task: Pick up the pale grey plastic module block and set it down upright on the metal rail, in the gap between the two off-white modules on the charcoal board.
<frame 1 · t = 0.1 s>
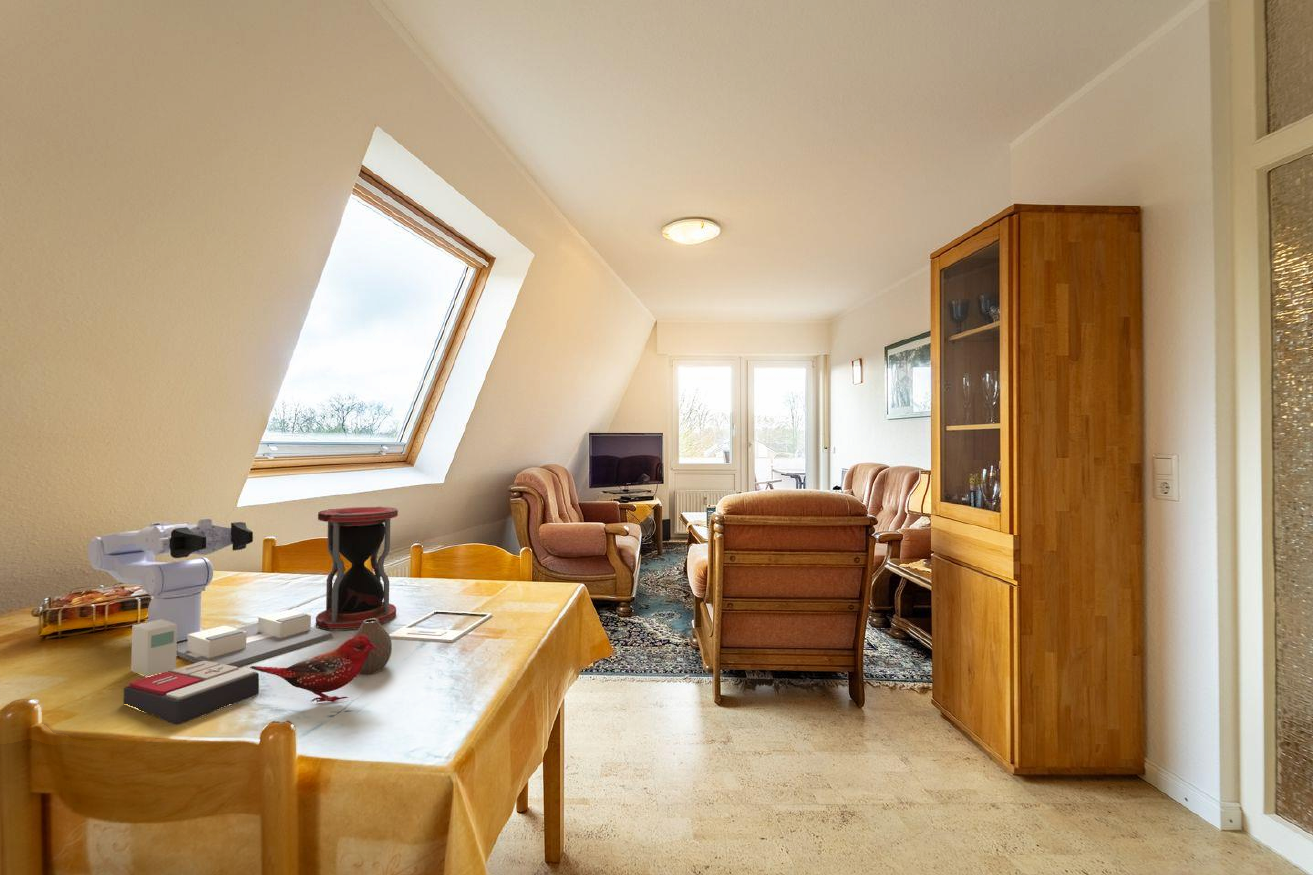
hand: (228, 539, 104), 22 cm above the table, tool horizontal, fingers open, 7 cm apart
vase: (369, 671, 96), on the table
module block: (153, 670, 96), on the table
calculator: (192, 702, 85), on the table
photo frame: (442, 628, 120), on the table
decorative bird figurine: (313, 704, 84), on the table
rail board: (252, 644, 109), on the table
hourglass: (357, 620, 125), on the table
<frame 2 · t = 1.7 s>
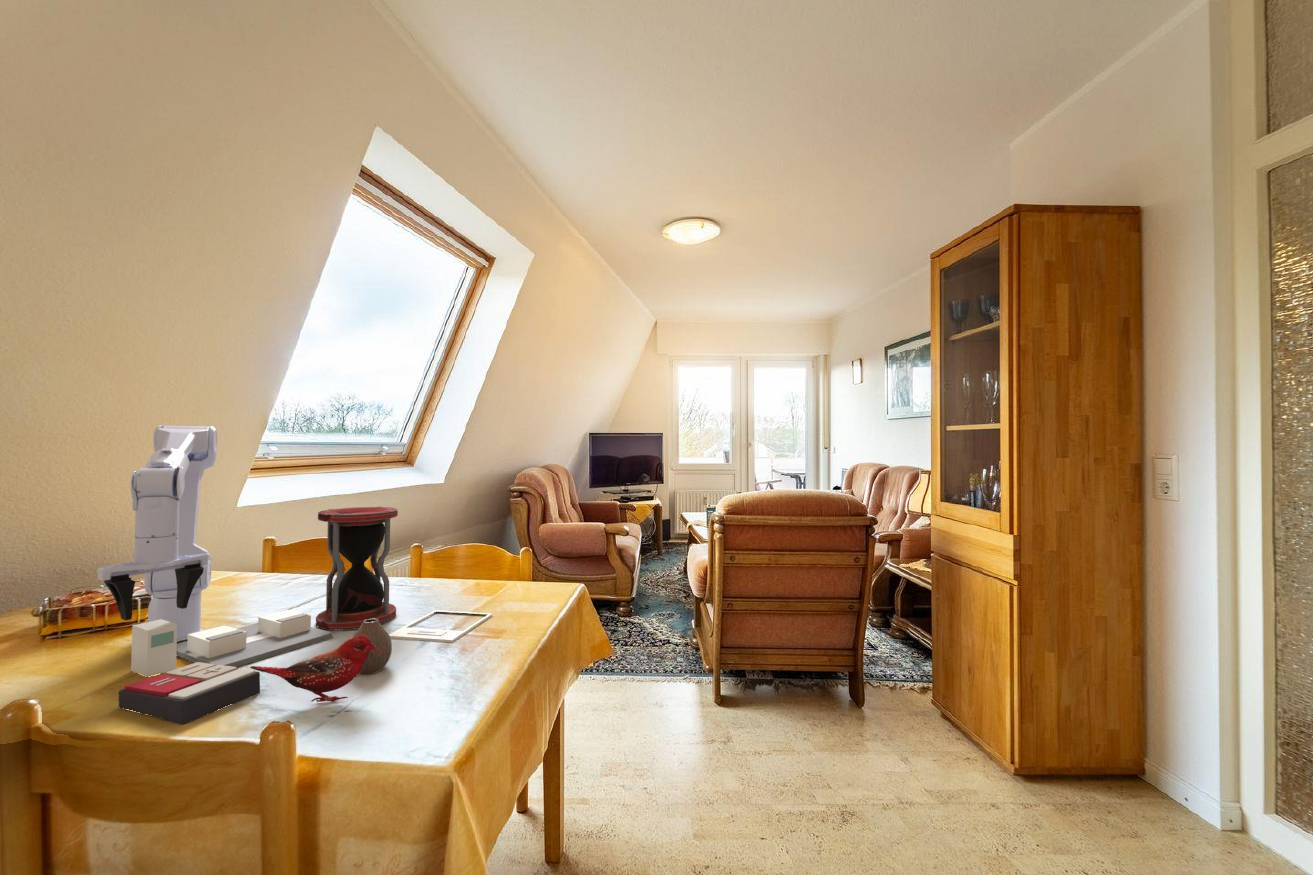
hand: (155, 613, 96), 10 cm above the table, tool pointing down, fingers open, 7 cm apart
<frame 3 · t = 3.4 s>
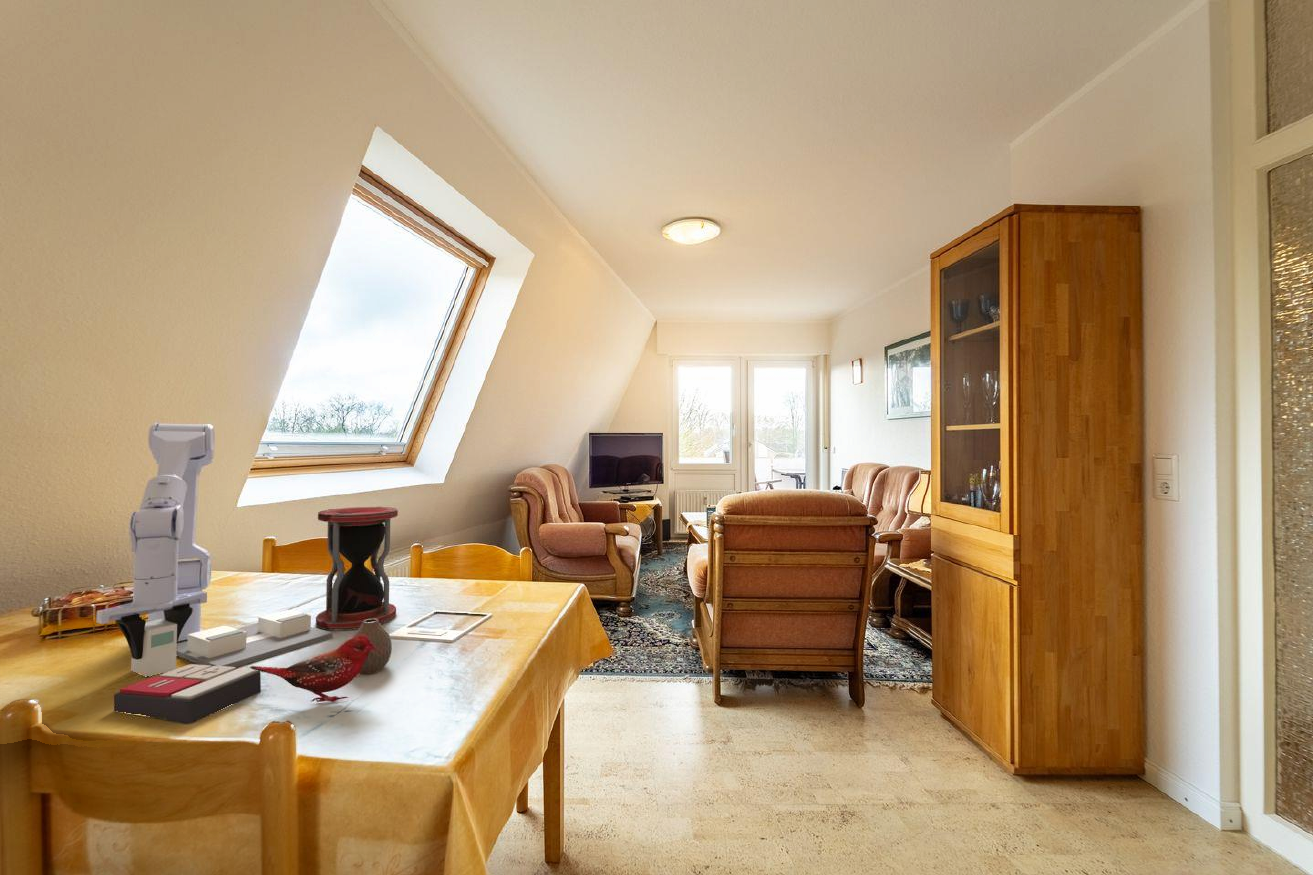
hand: (154, 653, 96), 3 cm above the table, tool pointing down, fingers closed on module block, 4 cm apart
module block: (153, 670, 96), on the table, touching gripper
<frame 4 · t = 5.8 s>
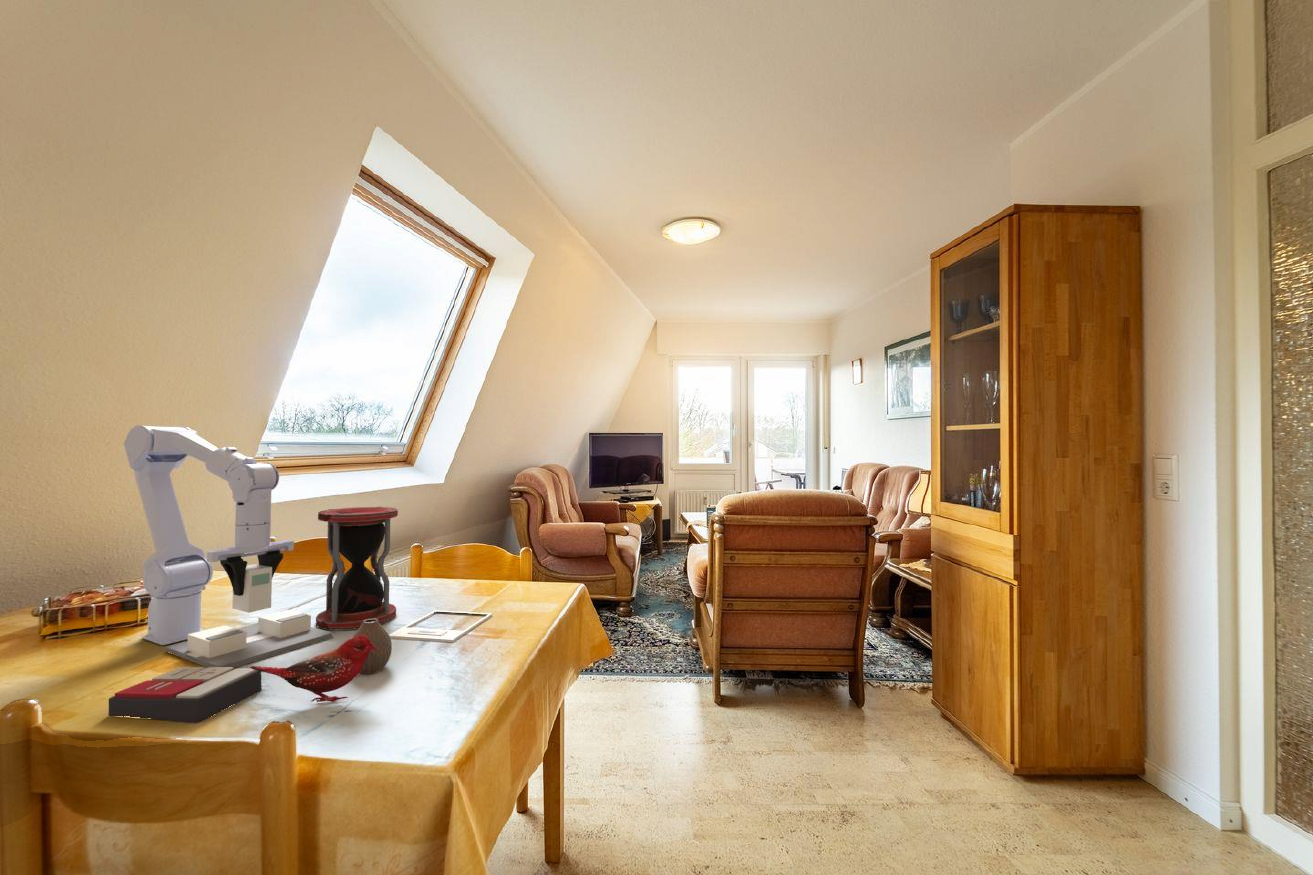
hand: (251, 592, 108), 10 cm above the table, tool pointing down, fingers closed on module block, 4 cm apart
module block: (251, 607, 108), point 7 cm above the table, touching gripper
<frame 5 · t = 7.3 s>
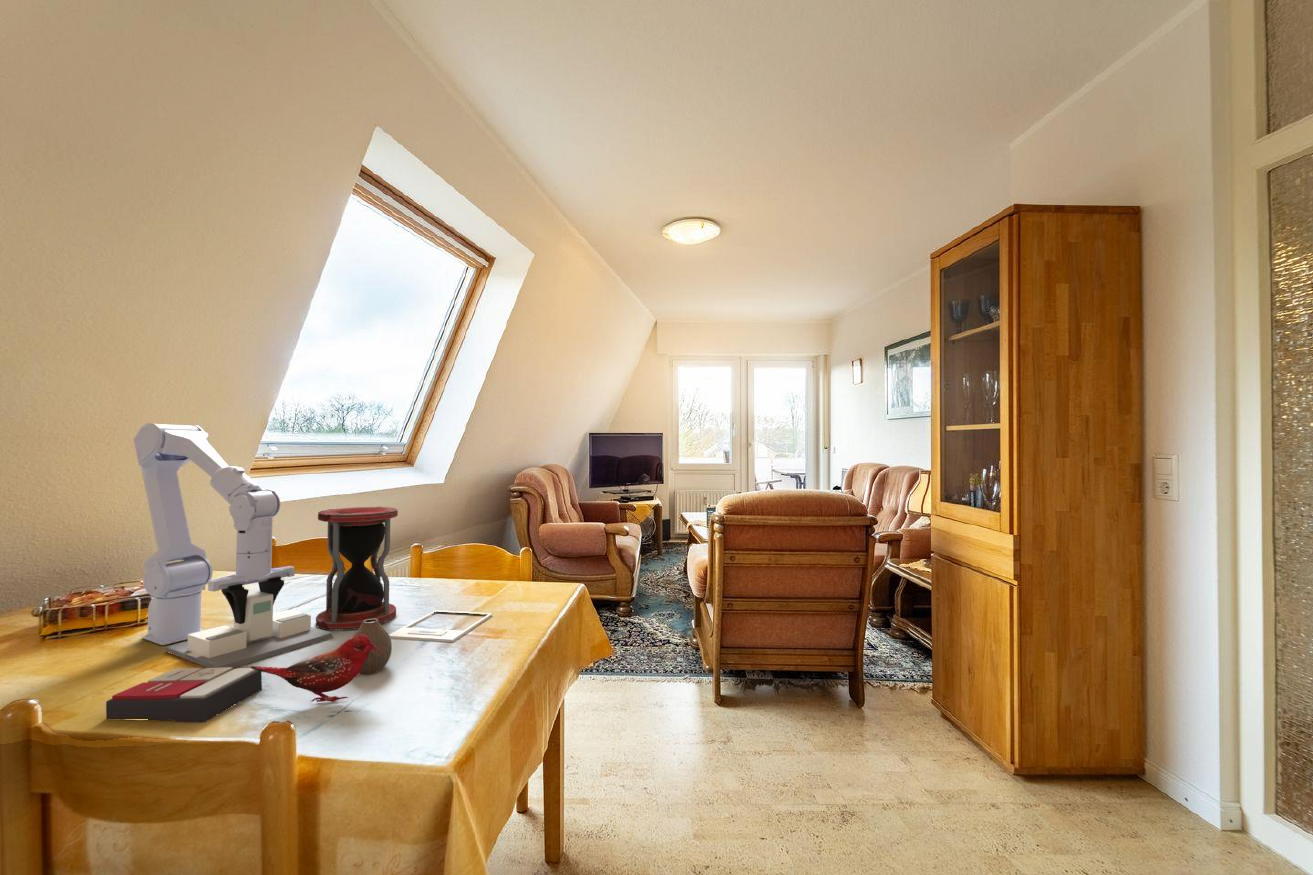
hand: (252, 619, 109), 5 cm above the table, tool pointing down, fingers closed on module block, 4 cm apart
module block: (252, 635, 108), point 2 cm above the table, touching gripper
when the fingers open (5 cm above the table, at t = 8.3 s): module block stays where it is, resting on rail board.
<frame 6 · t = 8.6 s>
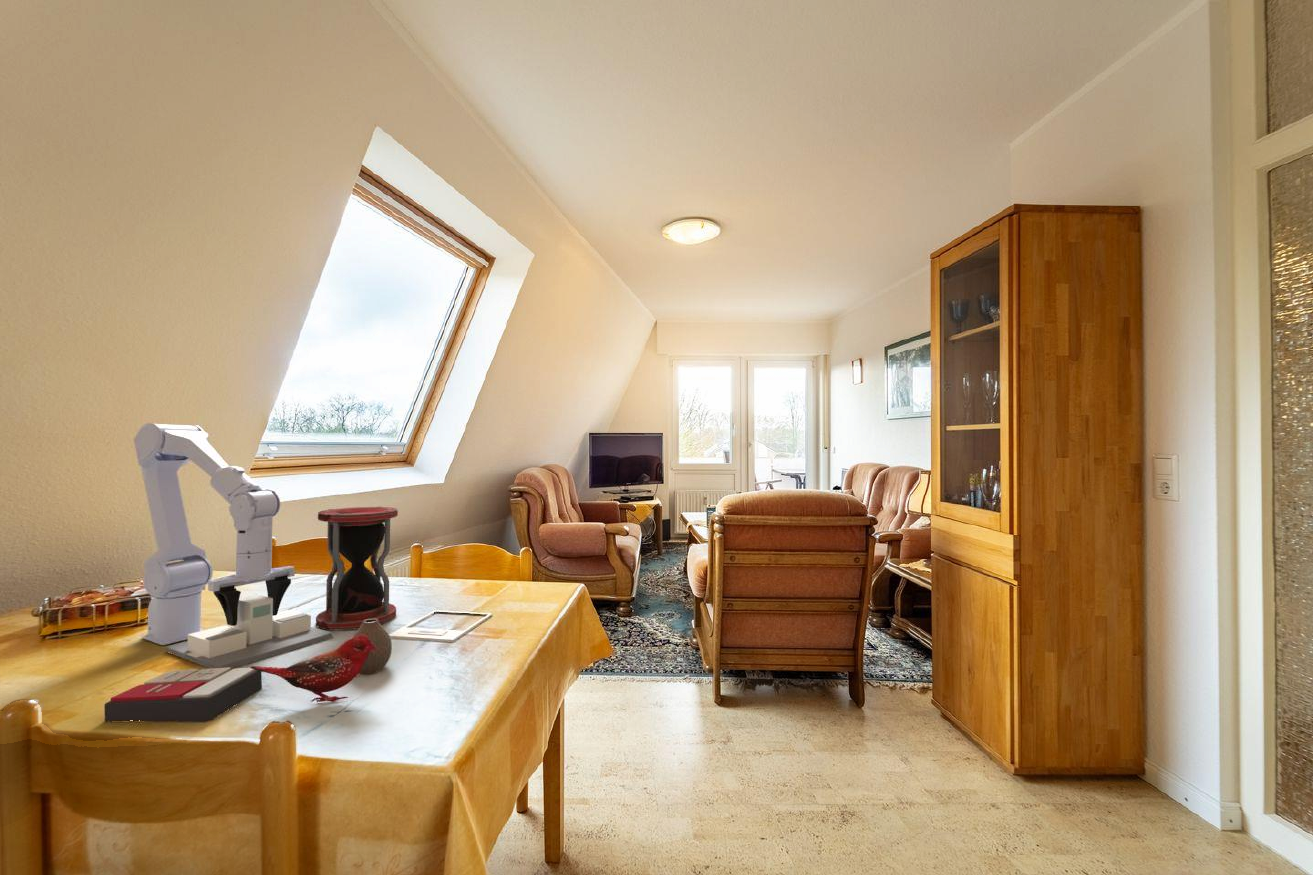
hand: (252, 619, 109), 5 cm above the table, tool pointing down, fingers open, 7 cm apart
module block: (252, 638, 108), point 1 cm above the table, touching rail board
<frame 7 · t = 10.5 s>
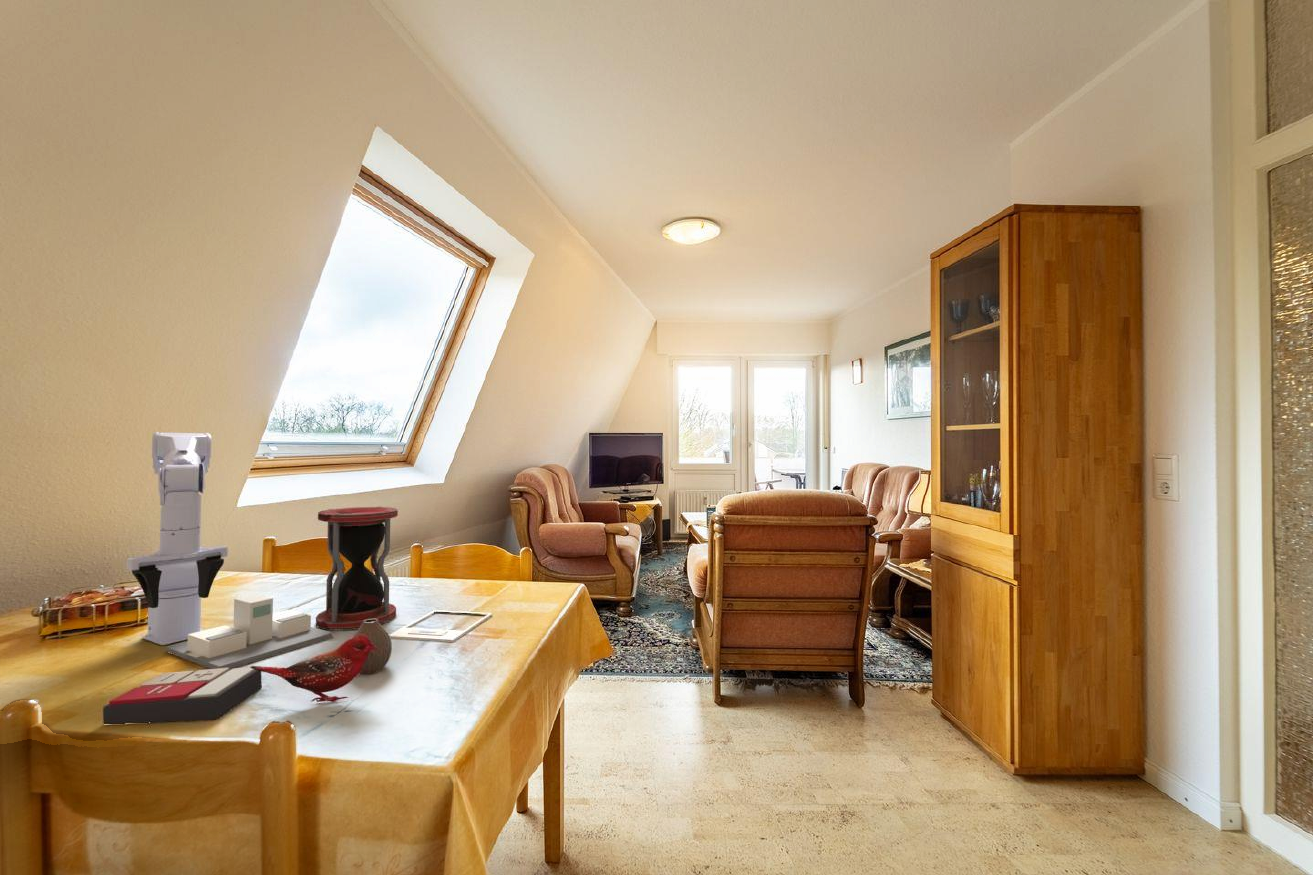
hand: (178, 602, 101), 10 cm above the table, tool pointing down, fingers open, 7 cm apart
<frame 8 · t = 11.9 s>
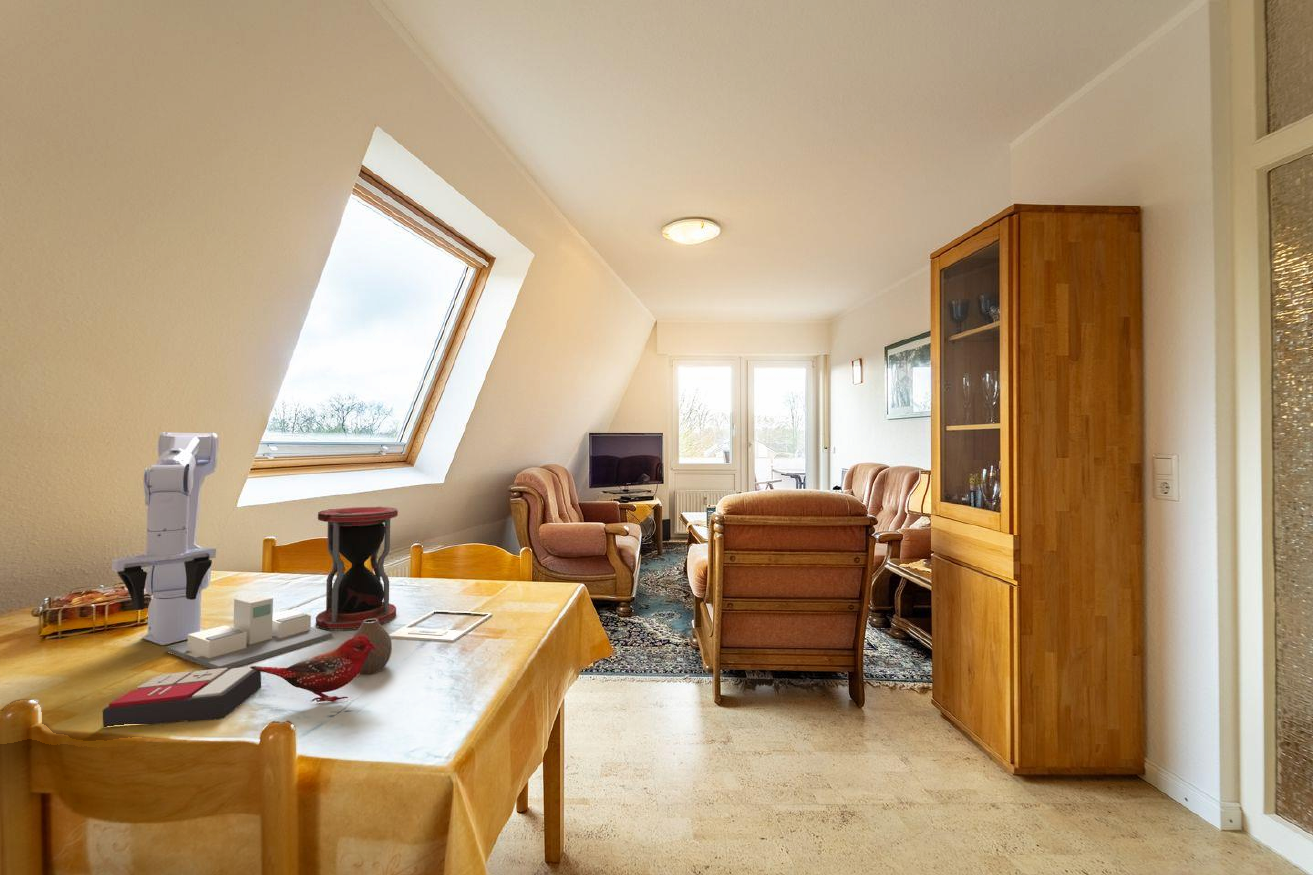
hand: (165, 603, 100), 10 cm above the table, tool pointing down, fingers open, 7 cm apart
at the end: module block 0.2 cm off-centre on the rail board, point 1.1 cm above the rail board's base; module block tilted 0°; the gripper is holding nothing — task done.
